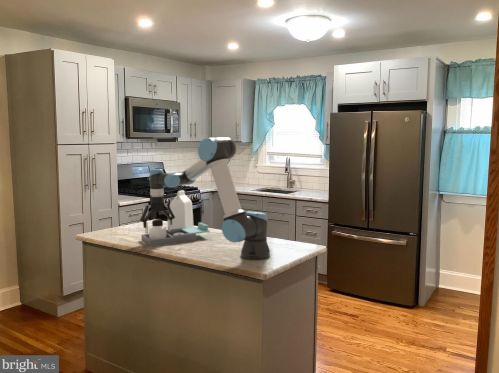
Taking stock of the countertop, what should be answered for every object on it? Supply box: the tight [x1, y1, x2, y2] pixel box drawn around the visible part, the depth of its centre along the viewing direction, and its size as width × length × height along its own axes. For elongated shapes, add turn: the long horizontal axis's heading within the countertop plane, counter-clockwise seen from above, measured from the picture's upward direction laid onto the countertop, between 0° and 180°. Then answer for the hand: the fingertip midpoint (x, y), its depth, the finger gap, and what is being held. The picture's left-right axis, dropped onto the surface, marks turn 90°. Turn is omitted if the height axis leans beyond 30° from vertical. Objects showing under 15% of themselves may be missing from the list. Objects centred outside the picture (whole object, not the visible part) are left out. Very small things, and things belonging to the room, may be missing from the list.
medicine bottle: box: [148, 218, 167, 240], centre depth 263 cm, size 7×7×12 cm
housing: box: [140, 228, 197, 248], centre depth 267 cm, size 16×28×5 cm, turn 121°
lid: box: [182, 221, 210, 235], centre depth 275 cm, size 12×13×4 cm
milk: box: [169, 190, 194, 229], centre depth 291 cm, size 12×12×26 cm
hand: (158, 232), depth 263 cm, fingers open, 13 cm apart
